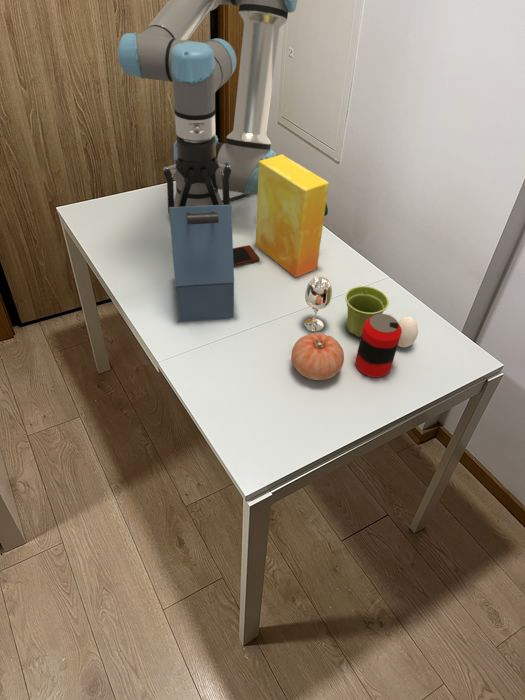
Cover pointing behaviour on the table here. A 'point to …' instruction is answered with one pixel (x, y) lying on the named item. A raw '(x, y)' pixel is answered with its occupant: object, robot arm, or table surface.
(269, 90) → the robot arm
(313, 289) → the wineglass
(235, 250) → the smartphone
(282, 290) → the table surface
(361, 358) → the soda can
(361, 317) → the plant pot
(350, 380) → the table surface
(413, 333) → the egg
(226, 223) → the lid
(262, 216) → the mottled yellow carton
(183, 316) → the blue-grey hollow box
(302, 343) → the orange pumpkin
